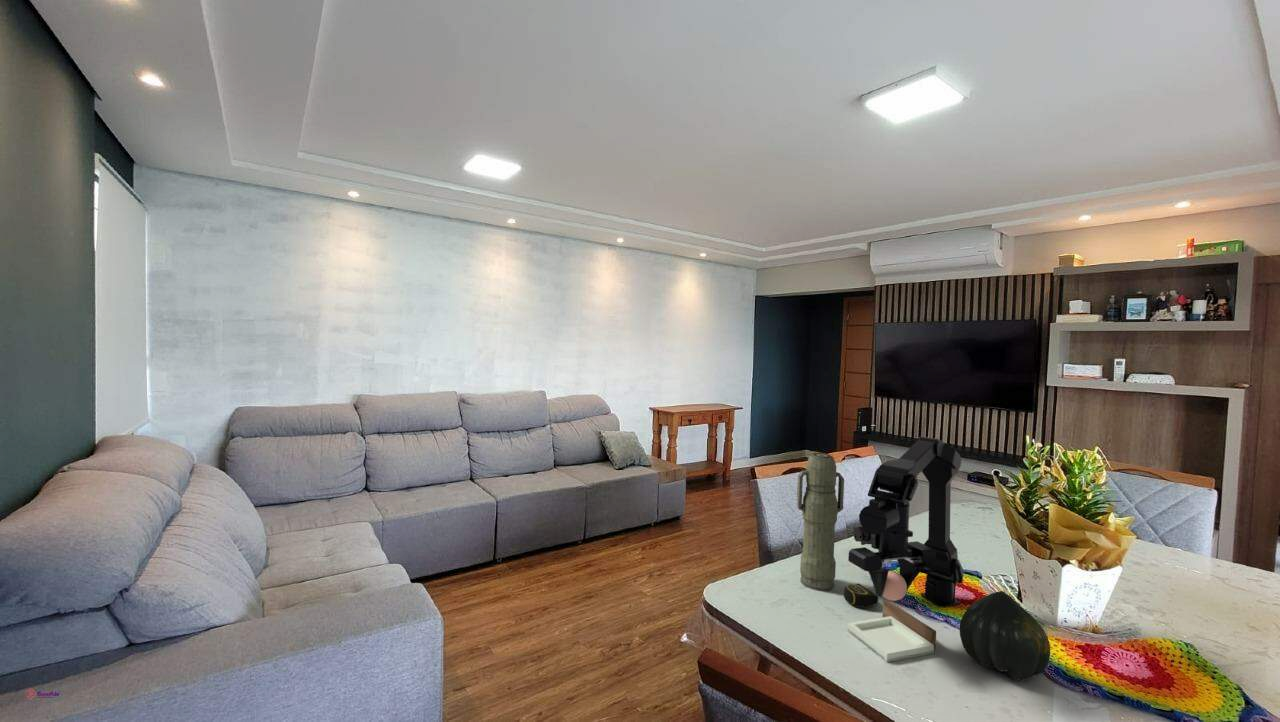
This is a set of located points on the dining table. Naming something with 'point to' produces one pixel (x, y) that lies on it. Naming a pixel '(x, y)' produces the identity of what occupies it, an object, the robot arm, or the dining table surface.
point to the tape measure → (860, 595)
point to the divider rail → (909, 621)
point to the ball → (894, 586)
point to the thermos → (819, 520)
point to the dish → (890, 638)
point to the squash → (1004, 636)
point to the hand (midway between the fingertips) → (890, 594)
